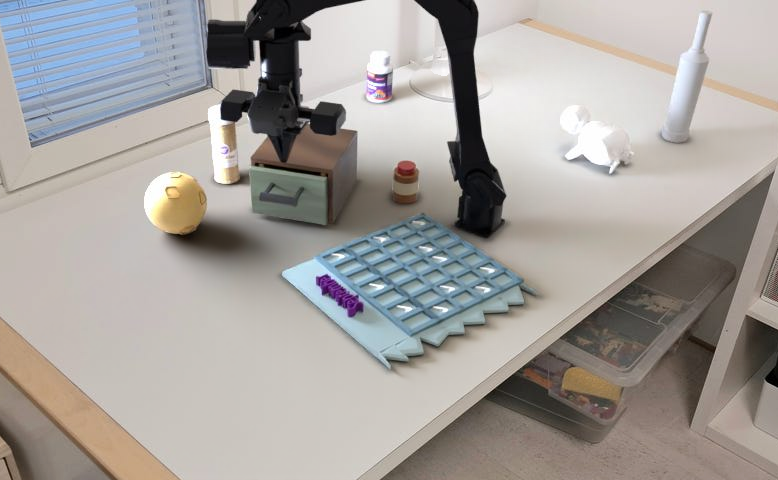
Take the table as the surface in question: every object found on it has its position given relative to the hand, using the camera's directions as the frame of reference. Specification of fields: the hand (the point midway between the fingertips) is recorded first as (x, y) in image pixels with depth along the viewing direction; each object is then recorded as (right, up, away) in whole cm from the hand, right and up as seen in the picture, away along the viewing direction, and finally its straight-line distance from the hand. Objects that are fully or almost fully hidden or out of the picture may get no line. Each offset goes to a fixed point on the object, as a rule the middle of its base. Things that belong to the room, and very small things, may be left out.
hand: (284, 162), depth 138 cm
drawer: (+1, -6, +11) cm, 12 cm away
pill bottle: (+16, +21, +48) cm, 55 cm away
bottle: (+74, +11, +36) cm, 83 cm away
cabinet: (+2, -3, +15) cm, 16 cm away
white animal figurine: (+56, +5, +29) cm, 63 cm away
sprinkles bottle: (-12, 0, +20) cm, 23 cm away
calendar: (+19, -20, -5) cm, 28 cm away
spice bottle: (+20, -4, +16) cm, 25 cm away
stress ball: (-18, -10, +6) cm, 21 cm away
